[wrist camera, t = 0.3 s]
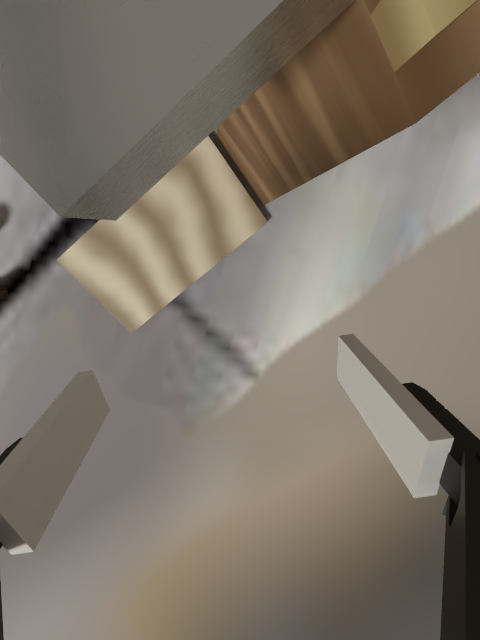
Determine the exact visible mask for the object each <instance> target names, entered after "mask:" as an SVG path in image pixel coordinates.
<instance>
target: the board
mask: <svg viewBox="0 0 480 640" xmlns="http://www.w3.org/2000/svg"><path fill="white" fill-rule="evenodd" d="M266 223H267V220H266V219H265V217H264V216H263V214H262V213H261V211H260V210H259V208H258V207H257V206H256V204H255V203H254V201H253V200H252V198H251V197H250V195H249V194H248V193H247V191H246V190H245V188H244V187H243V185H242V184H241V182H240V181H239V179H238V178H237V177H236V175H235V174H234V172H233V171H232V169H231V168H230V166H229V165H228V164H227V162H226V161H225V159H224V158H223V156H222V155H221V153H220V152H219V150H218V149H217V148H216V146H215V145H214V143H213V142H212V140H211V139H210V137H209V136H207V137H206V138H205V139H204V140H203V141H202V142H201V143H200V144H199V145H197V146H196V147H195V148H194V149H193V150H192V151H191V152H190V153H189V154H188V155H187V156H186V157H184V158H183V159H182V160H181V161H180V162H179V163H178V164H177V165H176V166H175V167H174V168H173V169H171V170H170V171H169V172H168V173H167V174H166V175H165V176H164V177H163V178H162V179H161V180H160V181H158V182H157V183H156V184H155V185H154V186H153V187H152V188H151V189H150V190H149V191H148V192H146V193H145V194H144V195H143V196H142V197H141V198H140V199H139V200H138V201H137V202H136V203H135V204H133V205H132V206H131V207H130V208H129V209H128V210H127V211H126V212H125V213H124V214H123V215H122V216H120V217H119V218H118V219H117V220H116V221H113V220H99V221H98V222H97V223H96V224H95V225H94V226H93V227H92V228H90V229H89V230H88V231H87V232H86V233H85V234H84V235H83V236H82V237H81V238H80V239H79V240H78V241H77V242H75V243H74V244H73V245H72V246H71V247H70V248H69V249H68V250H67V251H66V252H65V253H64V254H63V255H62V256H61V257H59V258H58V259H57V261H58V262H59V263H60V264H61V265H62V266H63V267H64V268H65V269H66V270H67V271H68V272H69V273H70V274H71V275H72V276H73V277H74V278H75V279H76V280H77V281H79V282H80V283H81V284H82V285H83V286H84V287H85V288H86V289H87V290H88V291H89V292H90V293H91V294H92V295H93V296H94V297H95V298H96V299H97V300H98V301H99V302H100V303H101V304H102V305H103V306H104V307H105V308H106V309H108V310H109V311H110V312H111V313H112V314H113V315H114V316H115V317H116V318H117V319H118V320H119V321H120V322H121V323H122V324H123V325H124V326H125V327H126V328H127V329H128V330H129V331H130V332H131V333H133V332H134V331H135V330H136V329H137V328H139V327H140V326H141V325H142V324H144V323H145V322H146V321H147V320H148V319H150V318H151V317H152V316H153V315H155V314H156V313H157V312H158V311H159V310H161V309H162V308H163V307H164V306H166V305H167V304H168V303H169V302H171V301H172V300H173V299H174V298H175V297H177V296H178V295H179V294H180V293H182V292H183V291H184V290H185V289H186V288H188V287H189V286H190V285H191V284H193V283H194V282H195V281H196V280H197V279H199V278H200V277H201V276H202V275H204V274H205V273H206V272H207V271H208V270H210V269H211V268H212V267H213V266H215V265H216V264H217V263H218V262H219V261H221V260H222V259H223V258H224V257H226V256H227V255H228V254H229V253H230V252H232V251H233V250H234V249H235V248H237V247H238V246H239V245H240V244H241V243H243V242H244V241H245V240H246V239H248V238H249V237H250V236H251V235H252V234H254V233H255V232H256V231H257V230H259V229H260V228H261V227H262V226H263V225H265V224H266Z"/></svg>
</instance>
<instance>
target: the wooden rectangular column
mask: <svg viewBox="0 0 480 640" xmlns="http://www.w3.org/2000/svg"><path fill="white" fill-rule="evenodd" d="M479 72H480V0H355V1H354V2H353V3H352V4H350V5H349V6H348V7H347V8H346V9H345V10H344V11H343V12H342V13H341V14H340V15H339V16H337V17H336V18H335V19H334V20H333V21H332V22H331V23H330V24H329V25H328V26H327V27H325V28H324V29H323V30H322V31H321V32H320V33H319V34H318V35H317V36H316V37H315V38H314V39H312V40H311V41H310V42H309V43H308V44H307V45H306V46H305V47H304V48H303V49H302V50H301V51H299V52H298V53H297V54H296V55H295V56H294V57H293V58H292V59H291V60H290V61H289V62H288V63H286V64H285V65H284V66H283V67H282V68H281V69H280V70H279V71H278V72H277V73H276V74H275V75H273V76H272V77H271V78H270V79H269V80H268V81H267V82H266V83H265V84H264V85H263V86H261V87H260V88H259V89H258V90H257V91H256V92H255V93H254V94H253V95H252V96H251V97H250V98H248V99H247V100H246V101H245V102H244V103H243V104H242V105H241V106H240V107H239V108H238V109H237V110H235V111H234V112H233V113H232V114H231V115H230V116H229V117H228V118H227V119H226V120H225V121H224V122H222V123H221V124H220V125H219V126H218V127H217V137H218V139H219V140H220V142H221V143H222V145H223V146H224V148H225V149H226V151H227V152H228V154H229V155H230V157H231V158H232V160H233V161H234V162H235V164H236V165H237V167H238V168H239V170H240V171H241V173H242V174H243V176H244V177H245V179H246V180H247V182H248V183H249V185H250V186H251V187H252V189H253V190H254V192H255V193H256V195H257V196H258V198H259V199H260V201H261V202H262V204H263V205H265V204H267V203H269V202H271V201H273V200H274V199H276V198H278V197H280V196H282V195H284V194H285V193H287V192H289V191H291V190H293V189H295V188H297V187H298V186H300V185H302V184H304V183H306V182H308V181H310V180H311V179H313V178H315V177H317V176H319V175H321V174H322V173H324V172H326V171H328V170H330V169H332V168H334V167H335V166H337V165H339V164H341V163H343V162H345V161H346V160H348V159H350V158H352V157H354V156H356V155H358V154H359V153H361V152H363V151H365V150H367V149H369V148H371V147H372V146H374V145H376V144H378V143H380V142H382V141H383V140H385V139H387V138H389V137H391V136H393V135H395V134H396V133H398V132H400V131H402V130H404V129H406V128H407V127H409V126H411V125H413V124H415V123H417V122H418V121H419V120H420V119H422V118H423V117H424V116H425V115H427V114H428V113H429V112H430V111H432V110H433V109H434V108H435V107H437V106H438V105H439V104H440V103H441V102H443V101H444V100H445V99H446V98H448V97H449V96H450V95H451V94H453V93H454V92H455V91H456V90H458V89H459V88H460V87H461V86H463V85H464V84H465V83H466V82H468V81H469V80H470V79H471V78H473V77H474V76H475V75H476V74H478V73H479Z"/></svg>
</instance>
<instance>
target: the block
mask: <svg viewBox="0 0 480 640" xmlns="http://www.w3.org/2000/svg"><path fill="white" fill-rule="evenodd" d="M354 1H355V0H0V155H1V156H2V157H3V158H4V159H5V160H6V161H7V162H8V163H9V164H10V165H11V166H12V167H13V168H14V169H15V170H16V171H17V172H18V173H19V174H20V175H21V177H22V178H23V179H24V180H25V181H26V182H27V183H28V184H29V185H30V186H31V187H32V188H33V189H34V190H35V191H36V192H37V193H38V194H39V195H40V196H41V197H42V198H43V199H44V200H45V201H46V202H47V203H48V204H49V205H50V206H51V208H52V209H53V210H54V211H55V212H56V213H57V214H58V215H59V216H60V217H72V218H85V219H99V220H113V221H116V220H117V219H118V218H119V217H120V216H122V215H123V214H124V213H125V212H126V211H127V210H128V209H129V208H130V207H131V206H132V205H133V204H135V203H136V202H137V201H138V200H139V199H140V198H141V197H142V196H143V195H144V194H145V193H146V192H148V191H149V190H150V189H151V188H152V187H153V186H154V185H155V184H156V183H157V182H158V181H160V180H161V179H162V178H163V177H164V176H165V175H166V174H167V173H168V172H169V171H170V170H171V169H173V168H174V167H175V166H176V165H177V164H178V163H179V162H180V161H181V160H182V159H183V158H184V157H186V156H187V155H188V154H189V153H190V152H191V151H192V150H193V149H194V148H195V147H196V146H197V145H199V144H200V143H201V142H202V141H203V140H204V139H205V138H206V137H207V136H208V135H209V134H210V133H212V132H213V131H214V130H215V129H216V128H217V127H218V126H219V125H220V124H221V123H222V122H224V121H225V120H226V119H227V118H228V117H229V116H230V115H231V114H232V113H233V112H234V111H235V110H237V109H238V108H239V107H240V106H241V105H242V104H243V103H244V102H245V101H246V100H247V99H248V98H250V97H251V96H252V95H253V94H254V93H255V92H256V91H257V90H258V89H259V88H260V87H261V86H263V85H264V84H265V83H266V82H267V81H268V80H269V79H270V78H271V77H272V76H273V75H275V74H276V73H277V72H278V71H279V70H280V69H281V68H282V67H283V66H284V65H285V64H286V63H288V62H289V61H290V60H291V59H292V58H293V57H294V56H295V55H296V54H297V53H298V52H299V51H301V50H302V49H303V48H304V47H305V46H306V45H307V44H308V43H309V42H310V41H311V40H312V39H314V38H315V37H316V36H317V35H318V34H319V33H320V32H321V31H322V30H323V29H324V28H325V27H327V26H328V25H329V24H330V23H331V22H332V21H333V20H334V19H335V18H336V17H337V16H339V15H340V14H341V13H342V12H343V11H344V10H345V9H346V8H347V7H348V6H349V5H350V4H352V3H353V2H354Z"/></svg>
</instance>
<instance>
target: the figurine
mask: <svg viewBox="0 0 480 640" xmlns="http://www.w3.org/2000/svg"><path fill="white" fill-rule="evenodd" d="M7 293H8V291H7V287H5V286H0V300H2V299H3V298H5V296H7Z"/></svg>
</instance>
